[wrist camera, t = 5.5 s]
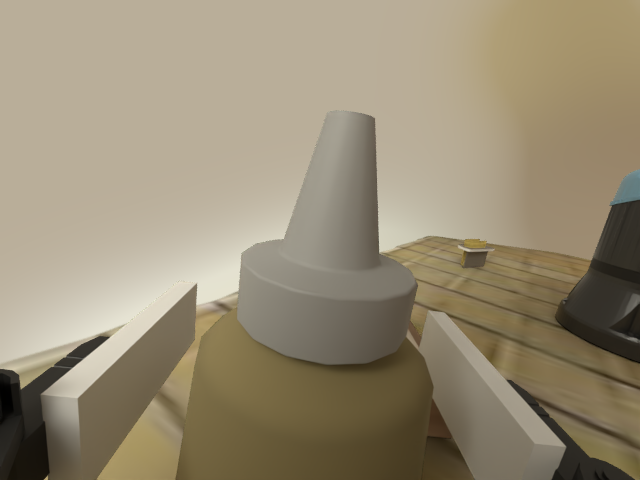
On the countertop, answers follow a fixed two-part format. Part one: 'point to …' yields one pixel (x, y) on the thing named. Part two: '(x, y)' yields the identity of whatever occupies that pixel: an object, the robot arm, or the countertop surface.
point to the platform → (474, 253)
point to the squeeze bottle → (315, 342)
